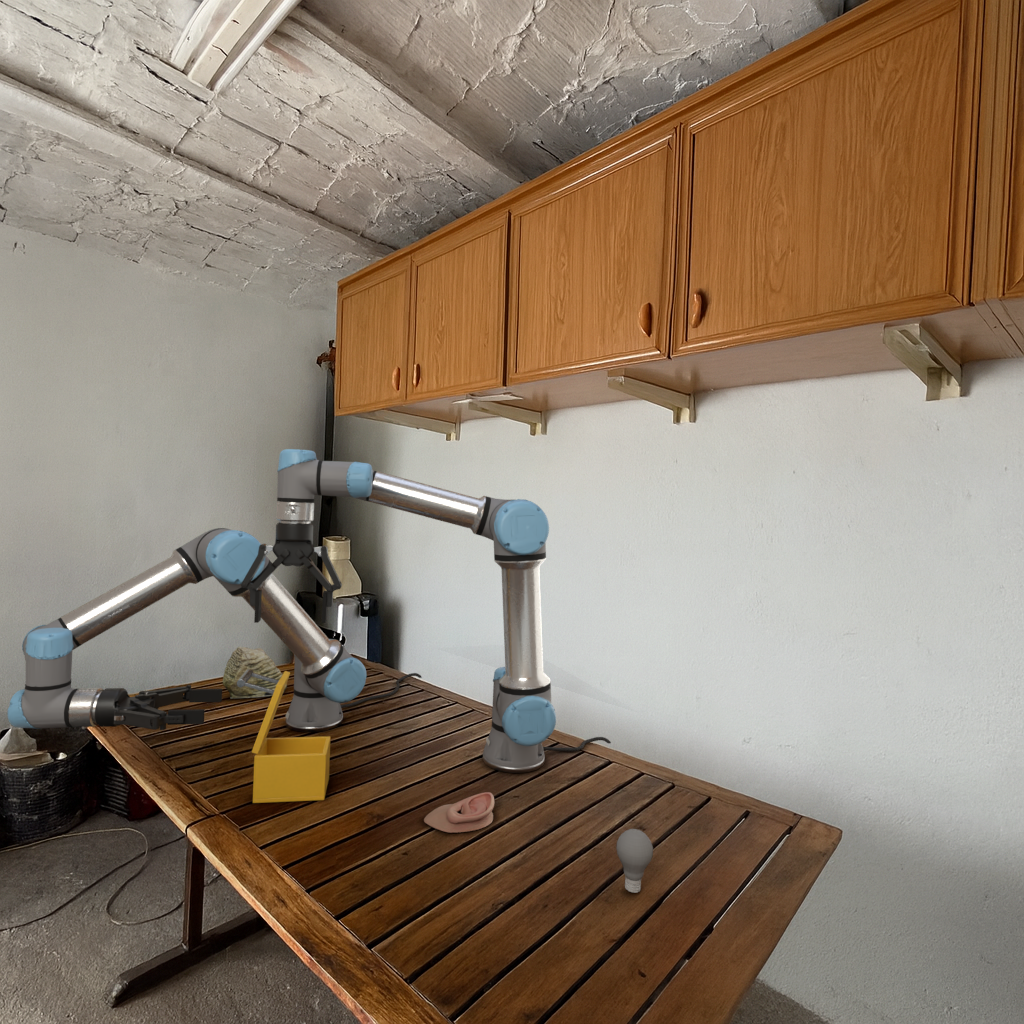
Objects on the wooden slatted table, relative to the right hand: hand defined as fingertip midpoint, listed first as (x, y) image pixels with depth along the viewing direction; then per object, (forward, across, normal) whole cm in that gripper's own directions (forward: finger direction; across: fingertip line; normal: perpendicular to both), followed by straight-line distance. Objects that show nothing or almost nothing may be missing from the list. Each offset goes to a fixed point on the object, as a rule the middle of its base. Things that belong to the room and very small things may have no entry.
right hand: (291, 621), depth 135 cm
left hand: (+18, -15, 0) cm, 23 cm away
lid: (+19, -3, 0) cm, 19 cm away
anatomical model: (+36, +36, -16) cm, 54 cm away
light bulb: (+36, +62, -43) cm, 84 cm away
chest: (+36, +2, 0) cm, 36 cm away
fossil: (+36, -20, +67) cm, 79 cm away
